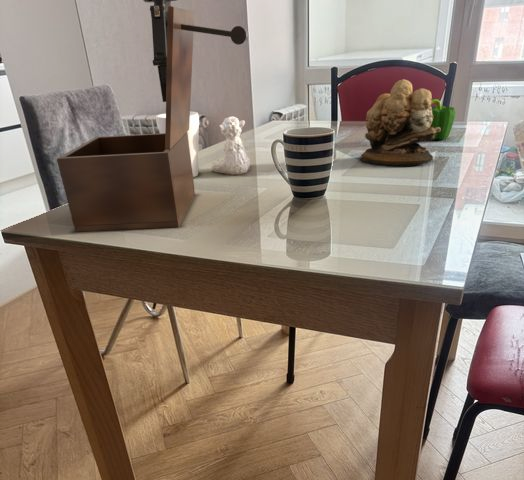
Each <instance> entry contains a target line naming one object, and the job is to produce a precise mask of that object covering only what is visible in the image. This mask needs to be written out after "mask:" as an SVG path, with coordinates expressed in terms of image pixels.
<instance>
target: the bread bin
mask: <svg viewBox="0 0 524 480" xmlns="http://www.w3.org/2000/svg"><path fill="white" fill-rule="evenodd" d="M56 162H57V166H58V171H59V174H60V177H61V178H60V179H61V181H62V186H63V190H64V192H65V197H66V201H67V205H68V209H69V212H70V216H71V220H72V224H73V228H74V232H75V233H76V232H77V233H78V232H98V231H99V232H100V231H101V232H102V231H120V230H123V231H124V230H142V229H167V228H179V227H180V225H181V224H182V221H183V219H184V218H185V216H186V214H187V211H188V210H189V209H190V206H191V204H192V202H193V200H194V198H195V197H196V191H195V181H194V177H193V173H192V165H191V157H190V149H189V141H188V133H187V132H186V133H185V134H184V135H183V137H182V138H181V139H180V140H179V141H178V142H177V143H176V144H175V145H174V146H173V147H172V148H171V149H170V150H166V149H165V133H160V132H159V133H141V134H126V135H125V134H124V135H106V136H94V137H93V138H91V139H89V140H87V141H85V142H84V143H82V144H80V145H78V146H77V147H75V148H73V149H72V150H69V151H68V152H66V153H65V154H63V155H61V156H59V157H57V158H56Z"/></svg>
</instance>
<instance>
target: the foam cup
mask: <svg viewBox="0 0 524 480" xmlns="http://www.w3.org/2000/svg"><path fill="white" fill-rule="evenodd" d="M155 121H156V128H157V130H158V131H159V133H165V128H166V112H165V113H159V114H157V115H155ZM199 126H200V116H199V112H197V111H190V122H189V130H188V131H187V133H188V141H189V149H190V157H191V165H192V173H193V178H195V177H197V176H198V175H199V151H200V150H199V148H200V145H199V143H200V139H199V135H200V134H199V133H200V132H199V131H200V130H199Z"/></svg>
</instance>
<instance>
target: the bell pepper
mask: <svg viewBox="0 0 524 480" xmlns="http://www.w3.org/2000/svg"><path fill="white" fill-rule="evenodd" d="M431 101H432V103H431V108H432V114H433V120H432V124H431V126H430V127H433V128H436V127H440V128H441V131H440V132H439V133H437V134H436V135H435V138H434V139H433V140H432V141H436V140H437V141H441V140H443V141H444V140H447V139H448V137H449V136H450V134H451V131H452V128H453V125H454V122H455V118H456V109H455V107H453V106H444V105H442V104H441V103H442V102H441V100H439V99H433V98H432V99H431ZM433 104H436V106H433Z"/></svg>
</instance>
